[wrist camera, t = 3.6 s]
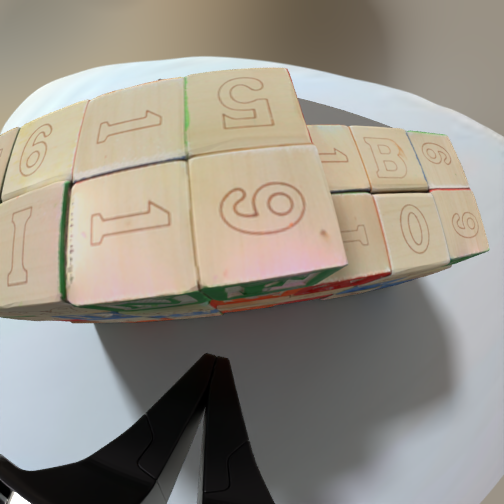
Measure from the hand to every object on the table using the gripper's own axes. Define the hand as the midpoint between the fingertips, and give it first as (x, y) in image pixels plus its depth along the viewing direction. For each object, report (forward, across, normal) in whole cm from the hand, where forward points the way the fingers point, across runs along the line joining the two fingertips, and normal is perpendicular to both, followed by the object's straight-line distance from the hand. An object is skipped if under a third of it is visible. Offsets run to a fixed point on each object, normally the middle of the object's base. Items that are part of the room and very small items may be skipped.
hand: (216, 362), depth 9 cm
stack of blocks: (+9, 0, +1) cm, 9 cm away
